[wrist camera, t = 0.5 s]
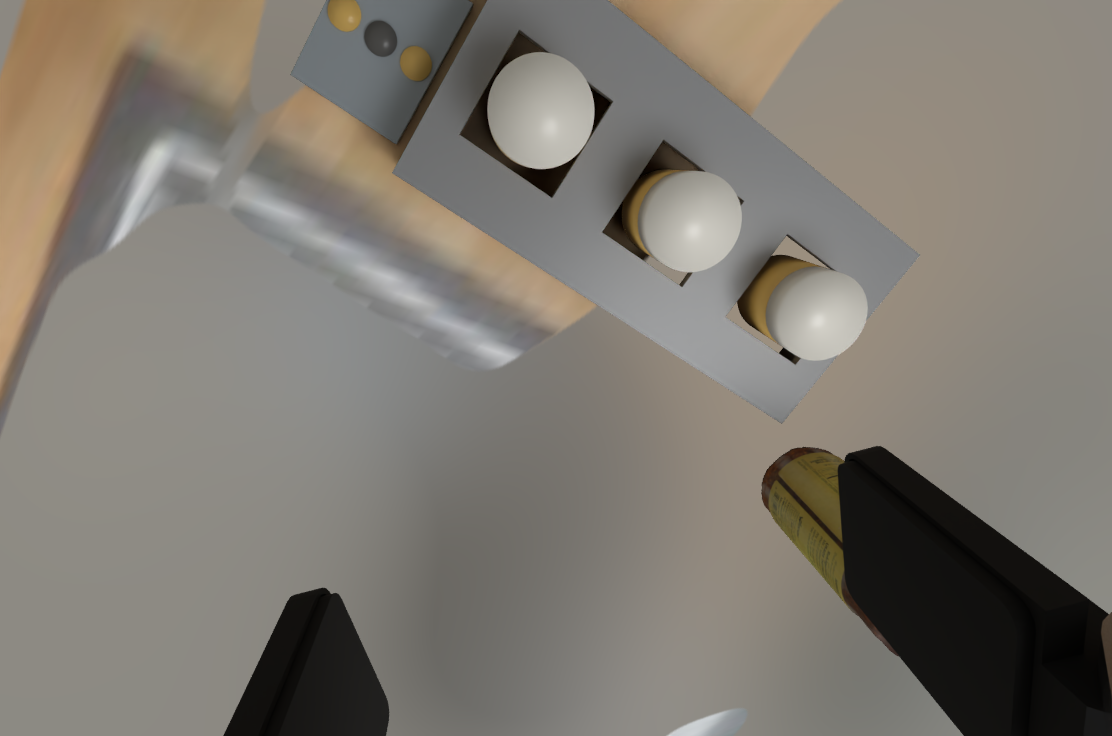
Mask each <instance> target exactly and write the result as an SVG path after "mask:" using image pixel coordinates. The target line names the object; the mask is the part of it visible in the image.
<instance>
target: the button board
mask: <svg viewBox="0 0 1112 736" xmlns="http://www.w3.org/2000/svg"><path fill="white" fill-rule="evenodd" d="M518 32H519V33H521V34H522V35H523V36H524V37H526V38H527V39H528V40H530V41H531V42H532V43H534V44H535V45H536V46H538V47H539V48H540V49H542V50H543V51H544V52H546V53H552V54H555V55H558V56H560V57H563V58H565V59H566V60H568V61H569V62H571V63H572V64H573V65H574V66H575V67H577V68H578V70H579V71H580V72H581V73H582V74H583V76H584V77H585V79H586V81H587V83H588V85H589V86H590V87H592V88H593V89H594V90H596V91H597V92H598V93H599V94H601V95H602V96H603V97H605V98H606V99H607V100H609V101H610V102H611V104H610V105H609V107H608V108H607V110H606V111H605V113H604V115H603V116H602V118H601V119H600V121H599V123H598V124H597V126H596V127H595V129H594V131H593V132H592V134H591V135H590V137H589V138H588V140H587V142H586V144H585V145H584V147H583V148H582V150H581V151H580V153H579V154H578V156H577V157H576V159H575V161H574V162H573V164H572V165H571V167H570V169H569V170H568V172H567V173H566V175H565V177H564V178H563V180H562V181H561V183H560V184H559V186H558V188H557V189H556V191H555V192H554V194H553V196H552V197H550V196H548V195H547V194H545V193H544V192H542V191H541V190H540V189H538V188H537V187H535V186H534V185H532V184H531V183H529V182H528V181H526V180H525V179H523V178H522V177H521V176H519V175H518V174H516V173H515V172H513V171H512V170H510V169H509V168H507V167H506V166H505V165H503V164H502V163H500V162H499V161H497V160H496V159H494V158H493V157H491V156H490V155H488V154H487V153H486V152H484V151H483V150H481V149H480V148H478V147H477V146H475V145H474V144H472V143H471V142H470V141H468V140H467V139H465V138H464V137H462V136H461V135H460V134H461V132H462V130H463V128H464V127H465V125H466V123H467V121H468V120H469V118H470V116H471V114H472V113H473V111H474V109H475V108H476V106H477V104H478V102H479V101H480V99H481V97H482V95H483V94H484V92H485V90H486V88H487V87H488V85H489V83H490V81H491V80H492V78H493V76H494V74H495V73H496V71H497V69H498V67H499V66H500V64H501V62H502V60H503V59H504V57H505V55H506V53H507V52H508V50H509V48H510V46H511V45H512V43H513V41H514V39H515V38H516V36H517V34H518ZM662 141H663V142H664V143H665V144H667V145H668V146H669V147H670V148H672V149H673V150H674V151H676V152H677V153H678V154H680V155H681V156H682V157H684V158H685V159H686V160H688V161H689V162H690V163H692V164H693V165H694V166H695V167H697V168H698V169H699V170H701V171H703V172H709V173H712V174H715V175H717V176H719V177H721V178H722V179H724V180H725V181H726V182H727V183H728V184H729V185H730V186H731V187H732V188H733V190H734V191H735V193H736V195H737V197H738V199H739V200H740V201H739V202H740V205H741V211H742V223H741V229H740V233H739V236H738V239H737V241H736V243H735V245H734V246H733V248H732V249H731V251H730V252H729V253H728V254H727V256H726V257H725V258H724V259H722V260H721V261H720V262H719V263H717V264H716V265H714V266H712V267H710V268H708V269H706V270H702V271H698V272H688V273H687V275H686V276H685V278H684V279H683V281H682V282H681V283H680V285H678V284H677V283H675V282H674V281H672V280H671V279H669V278H668V277H666V276H665V275H664V274H662V273H661V272H659V271H658V270H656V269H655V268H653V267H652V266H650V265H649V264H648V263H646V262H645V261H643V260H642V259H640V258H639V257H637V256H636V255H634V254H633V253H631V252H630V251H629V250H627V249H626V248H624V247H623V246H621V245H620V244H618V243H617V242H615V241H614V240H613V239H611V238H610V237H608V236H607V235H605V234H604V233H602V231H603V230H604V228H605V227H606V225H607V224H608V222H609V221H610V219H611V218H612V216H613V215H614V213H615V212H616V210H617V209H618V207H619V206H620V204H621V203H622V201H623V200H624V198H625V197H626V195H627V194H628V192H629V191H630V189H631V188H632V186H633V185H634V183H635V182H636V180H637V179H638V177H639V176H640V174H641V173H642V171H643V170H644V168H645V167H646V165H647V164H648V162H649V161H650V159H651V158H652V156H653V154H654V153H655V151H656V150H657V148H658V147H659V145H660V144H661V142H662ZM392 173H393V174H395V175H396V176H398V177H399V178H401V179H402V180H404V181H405V182H407V183H409V184H410V185H412V186H413V187H415V188H416V189H418V190H419V191H421V192H423V193H424V194H426V195H427V196H429V197H430V198H432V199H433V200H435V201H437V202H438V203H440V204H441V205H443V206H444V207H446V208H447V209H449V210H450V211H452V212H454V213H455V214H457V215H458V216H460V217H461V218H463V219H464V220H466V221H468V222H469V223H471V224H472V225H474V226H475V227H477V228H478V229H480V230H482V231H483V232H485V233H486V234H488V235H489V236H491V237H492V238H494V239H496V240H497V241H499V242H500V243H502V244H503V245H505V246H506V247H508V248H510V249H511V250H513V251H514V252H516V253H517V254H519V255H520V256H522V257H523V258H525V259H527V260H528V261H530V262H531V263H533V264H534V265H536V266H537V267H539V268H541V269H542V270H544V271H545V272H547V273H548V274H550V275H551V276H553V277H555V278H556V279H558V280H559V281H561V282H562V283H564V284H565V285H567V286H569V287H570V288H572V289H573V290H575V291H576V292H578V293H579V294H581V295H583V296H584V297H586V298H587V299H589V300H590V301H592V302H593V303H595V304H596V305H598V306H600V307H602V308H603V309H604V310H606V311H608V312H609V313H610V314H612V315H614V316H615V317H617V318H618V319H620V320H622V321H623V322H625V323H626V324H628V325H629V326H631V327H632V328H634V329H635V330H637V331H638V332H640V333H642V334H643V335H645V336H646V337H648V338H649V339H651V340H652V341H654V342H656V343H657V344H659V345H660V346H662V347H663V348H665V349H666V350H668V351H669V352H671V353H673V354H674V355H676V356H677V357H679V358H680V359H682V360H683V361H685V362H687V363H688V364H690V365H691V366H693V367H694V368H696V369H698V370H699V371H701V372H702V373H704V374H705V375H707V376H708V377H710V378H711V379H713V380H715V381H716V382H718V383H719V384H721V385H722V386H724V387H725V388H727V389H729V390H730V391H732V392H733V393H735V394H736V395H738V396H739V397H741V398H742V399H744V400H746V401H747V402H749V403H750V404H752V405H753V406H755V407H756V408H758V409H760V410H761V411H763V412H764V413H766V414H767V415H769V416H770V417H772V418H774V419H775V420H777V421H778V422H780V423H783V422H784V421H785V419H786V418H787V417H788V416H789V414H790V413H791V412H792V411H793V409H794V408H795V407H796V406H797V404H798V403H799V402H800V401H801V400H802V398H803V397H804V396H805V395H806V394H807V392H808V391H809V390H810V388H812V386H813V385H814V384H815V383H816V381H817V380H818V379H819V378H820V377H821V375H822V374H823V373H824V372H825V371H826V369H827V368H828V367H829V366H830V364H831V363H832V362H833V361H834V359H835V358H836V357H837V356H838V355H837V356H834V357H832V358H829V359H826V360H820V361H812V360H806V359H802V358H800V357H798V356H796V355H794V354H793V353H791V352H790V351H788V350H787V349H785V348H784V347H783V349H782V350H781V351H780V352H779V353H777V352H776V351H774V350H773V349H772V348H770V347H769V346H767V345H766V344H764V343H763V342H761V341H760V340H758V339H757V338H755V337H754V336H753V335H751V334H750V333H748V332H747V331H745V330H744V329H742V328H741V327H739V326H738V325H737V324H735V323H734V322H732V321H731V320H729V319H728V318H726V315H727V314H728V313H729V311H730V310H731V309H732V307H733V306H734V305H735V303H736V302H737V301H738V299H739V298H740V297H741V295H742V294H743V293H744V291H745V290H746V289H747V287H748V286H749V285H750V283H751V282H752V281H753V279H754V278H755V277H756V275H757V274H758V273H759V271H760V270H761V269H762V267H763V266H764V265H765V263H766V262H767V261H768V259H769V258H770V257H771V255H772V254H773V253H774V251H775V250H776V249H777V247H778V246H779V245H780V243H781V242H782V241H783V239H784V238H785V237H786V236H788V237H789V238H790V239H791V240H793V241H794V242H796V243H797V244H798V245H799V246H801V247H802V248H803V249H805V250H806V251H807V252H809V253H810V254H811V255H813V256H814V257H815V258H817V259H818V260H819V261H820V262H822V263H823V264H824V265H826V266H827V267H828V268H830V269H831V270H834V271H837V272H840V273H843V274H845V275H848V276H850V277H851V278H853V279H854V280H855V281H857V282H858V283H859V285H860V286H861V287H862V289H863V291H864V293H865V295H866V299H867V306H868V311H867V318H866V320H867V319H868V318H869V317H870V316H871V314H872V313H873V312H874V311H875V309H876V308H877V307H878V306H879V305H880V303H881V302H882V301H883V300H884V299H885V297H886V296H887V295H888V294H889V292H890V291H891V290H892V289H893V288H894V286H895V285H896V284H897V282H898V281H899V280H900V279H901V278H902V276H903V275H904V274H905V273H906V272H907V270H908V269H909V268H910V267H911V266H912V264H913V263H914V262H915V261H916V259H917V258H918V257H919V256H920V254H918V253H917V252H916V251H915V250H913V249H912V248H911V247H910V246H908V245H907V244H906V243H905V242H904V241H902V240H901V239H900V238H899V237H898V236H896V235H895V234H894V233H893V232H891V231H890V230H889V229H888V228H886V227H885V226H884V225H883V224H882V223H880V222H879V221H878V220H877V219H875V218H874V217H873V216H872V215H870V214H869V213H868V212H867V211H866V210H864V209H863V208H862V207H861V206H859V205H858V204H857V203H856V202H855V201H853V200H852V199H851V198H850V197H848V196H847V195H846V194H845V193H843V192H842V191H841V190H840V189H839V188H837V187H836V186H835V185H834V184H832V183H831V182H830V181H829V180H828V179H826V178H825V177H824V176H823V175H821V174H820V173H819V172H818V171H817V170H815V169H814V168H813V167H812V166H810V165H809V164H808V163H807V162H805V161H804V160H803V159H802V158H801V157H799V156H798V155H797V154H796V153H794V152H793V151H792V150H791V149H790V148H788V147H787V146H786V145H785V144H783V143H782V142H781V141H780V140H779V139H777V138H776V137H775V136H773V135H772V134H771V133H770V132H768V131H767V130H766V129H765V128H764V127H763V126H761V125H760V124H759V123H758V122H756V121H755V120H754V119H753V118H751V117H750V116H749V115H748V114H747V113H745V112H744V111H743V110H742V109H740V108H739V107H738V106H737V105H736V104H734V103H733V102H732V101H731V100H729V99H728V98H727V97H726V96H725V95H723V94H722V93H721V92H720V91H718V90H717V89H716V88H715V87H713V86H712V85H711V84H710V83H709V82H707V81H706V80H705V79H704V78H702V77H701V76H700V75H699V74H698V73H696V72H695V71H694V70H693V69H691V68H690V67H689V66H688V65H686V64H685V63H684V62H683V61H682V60H680V59H679V58H678V57H677V56H675V55H674V54H673V53H672V52H671V51H669V50H668V49H667V48H666V47H664V46H663V45H662V44H661V43H659V42H658V41H657V40H656V39H655V38H653V37H652V36H651V35H650V34H648V33H647V32H646V31H645V30H644V29H642V28H641V27H640V26H639V25H637V24H636V23H635V22H634V21H632V20H631V19H630V18H629V17H628V16H626V15H625V14H624V13H623V12H621V11H620V10H619V9H618V8H617V7H615V6H614V5H613V4H612V3H610V2H609V1H608V0H487V2H486V4H485V5H484V7H483V9H482V11H481V13H480V15H479V16H478V18H477V20H476V22H475V24H474V25H473V27H472V29H471V31H470V33H469V34H468V36H467V38H466V40H465V42H464V44H463V45H462V47H461V49H460V51H459V53H458V54H457V56H456V58H455V60H454V62H453V63H452V65H451V67H450V69H449V71H448V73H447V74H446V76H445V78H444V80H443V82H442V83H441V85H440V87H439V89H438V91H437V92H436V94H435V96H434V98H433V100H432V102H431V103H430V105H429V107H428V109H427V111H426V112H425V114H424V116H423V118H422V120H421V121H420V123H419V125H418V127H417V129H416V131H415V132H414V134H413V136H412V138H411V140H410V141H409V143H408V145H407V147H406V149H405V150H404V152H403V154H402V156H401V158H400V160H399V161H398V163H397V165H396V167H395V169H394V170H393V172H392Z"/></svg>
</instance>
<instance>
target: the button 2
mask: <svg viewBox="0 0 1112 736" xmlns="http://www.w3.org/2000/svg"><path fill="white" fill-rule="evenodd" d="M737 304H738V308H739V311H740V314H741V316H742V317H743V319H744V320H745V321H746V322H747V323H748V324H749V325H750V326H752V327H753V328H755V329H756V330H758V331H760V332H761V333H762V334H764V335H766V336H767V337H769V338H770V339H772V340H773V341H775V342H776V343H778V344H779V345H781V346H782V347H784V348H785V349H787V350H788V351H790V352H791V353H793V354H794V355H796V356H798V357H800V358H802V359H806V360H812V361H820V360H826V359H829V358H832V357H834V356H837V355H839V354H840V353H842V352H843V351H845V350H846V349H847V348H849V347H850V346H851V345H852V344H853V343H854V342H855V341H856V339H857V338H858V336H859V335H860V333H861V331H862V329H863V327H864V325H865V322H866V318H867V311H868V306H867V299H866V295H865V293H864V291H863V289H862V287H861V286H860V285H859V283H858V282H857V281H855V280H854V279H853V278H851V277H850V276H848V275H845V274H843V273H840V272H837V271H834V270H830V269H827V268H824V267H821V266H818V265H815V264H812V263H809V262H806V261H803V260H800V259H797V258H794V257H790V256H786V255H775V256H771V257H770V258H769V259H768V261H767V262H766V263H765V265H764V266H763V267H762V269H761V270H760V271H759V273H758V274H757V275H756V277H755V278H754V279H753V281H752V282H751V283H750V285H749V286H748V287H747V289H746V290H745V291H744V293H743V294H742V295H741V297H740V298H739V299H738V301H737Z"/></svg>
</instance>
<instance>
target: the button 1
mask: <svg viewBox="0 0 1112 736" xmlns="http://www.w3.org/2000/svg"><path fill="white" fill-rule="evenodd" d="M487 112H488V121H489V126H490V130H491V134H492V137H493V139H494V141H495V143H496V145H497V147H498V148H499V149H500V151H501V152H502V153H503V154H504V155H505V156H506V157H507V158H508V159H510V160H511V161H513V162H515V163H517V164H519V165H522V166H525V167H529V168H535V169H549V168H554V167H557V166H560V165H562V164H564V163H566V162H568V161H569V160H571V159H572V158H573V157H575V156H576V155H577V154H578V153H579V152H580V151H581V149H582V148H583V147H584V145H585V144H586V142H587V140H588V138H589V136H590V133H591V131H592V127H593V123H594V100H593V96H592V92H591V89H590V87H589V85H588V83H587V81H586V79H585V77H584V76H583V74H582V73H581V72H580V71H579V70H578V68H577V67H575V66H574V65H573V64H572V63H571V62H569V61H568V60H566V59H565V58H563V57H560V56H558V55H555V54H552V53H546V52H534V53H529V54H525V55H522V56H520V57H518V58H516V59H514V60H513V61H511V62H510V63H509V64H507V65H506V66H505V67H504V68H503V69H502V70H501V72H500V73H499V74H498V76H497V77H496V79H495V81H494V83H493V85H492V87H491V90H490V93H489V98H488V107H487Z"/></svg>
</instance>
